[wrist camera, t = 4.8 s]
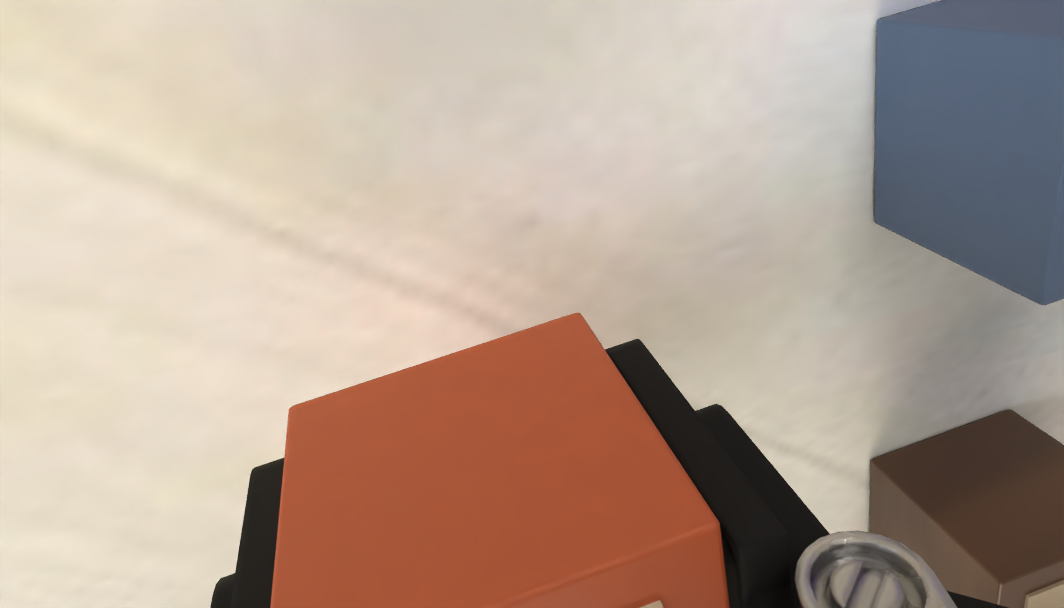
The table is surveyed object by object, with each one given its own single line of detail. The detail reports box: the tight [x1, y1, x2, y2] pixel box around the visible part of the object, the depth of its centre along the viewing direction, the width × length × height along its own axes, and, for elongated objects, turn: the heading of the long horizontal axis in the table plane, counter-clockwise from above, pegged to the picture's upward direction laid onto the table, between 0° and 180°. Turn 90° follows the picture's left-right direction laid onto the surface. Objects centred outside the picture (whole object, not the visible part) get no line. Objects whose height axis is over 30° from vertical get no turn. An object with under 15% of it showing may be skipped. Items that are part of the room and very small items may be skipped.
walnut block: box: [870, 409, 1064, 608], centre depth 18 cm, size 4×4×4 cm
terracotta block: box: [270, 313, 730, 608], centre depth 9 cm, size 4×4×4 cm
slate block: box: [874, 0, 1064, 305], centre depth 12 cm, size 4×4×4 cm
